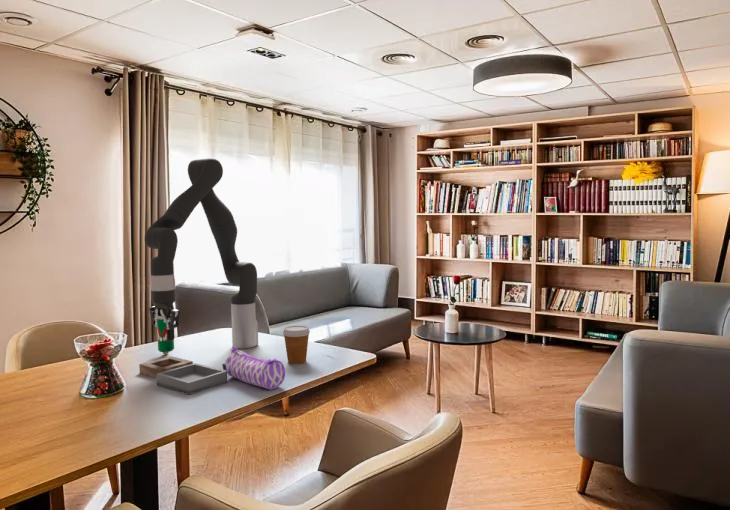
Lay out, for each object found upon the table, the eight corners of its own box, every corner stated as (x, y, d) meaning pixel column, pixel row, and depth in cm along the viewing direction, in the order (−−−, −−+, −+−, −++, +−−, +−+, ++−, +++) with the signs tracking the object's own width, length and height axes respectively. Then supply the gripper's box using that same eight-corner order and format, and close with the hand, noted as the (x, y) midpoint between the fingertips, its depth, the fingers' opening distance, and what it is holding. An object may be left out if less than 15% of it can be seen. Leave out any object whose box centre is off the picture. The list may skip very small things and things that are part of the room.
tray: (195, 373, 175) (195, 363, 175) (227, 382, 166) (227, 371, 165) (156, 385, 164) (156, 373, 164) (189, 394, 154) (188, 382, 154)
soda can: (176, 348, 180) (175, 313, 179) (170, 352, 175) (168, 316, 174) (162, 348, 180) (160, 313, 179) (155, 352, 175) (153, 316, 174)
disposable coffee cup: (278, 364, 185) (277, 329, 184) (292, 357, 194) (291, 324, 193) (302, 366, 182) (301, 331, 181) (315, 359, 190) (314, 326, 190)
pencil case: (221, 379, 169) (220, 350, 169) (246, 372, 176) (245, 344, 175) (264, 394, 154) (263, 362, 154) (289, 386, 161) (289, 355, 161)
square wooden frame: (171, 364, 186) (171, 356, 186) (193, 370, 179) (192, 361, 179) (139, 373, 176) (139, 364, 176) (161, 379, 169) (160, 370, 169)
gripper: (186, 288, 174) (188, 339, 176) (160, 285, 183) (163, 334, 184) (166, 291, 168) (168, 344, 170) (140, 288, 177) (143, 338, 178)
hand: (165, 338), depth 177 cm, fingers closed on soda can, 5 cm apart
